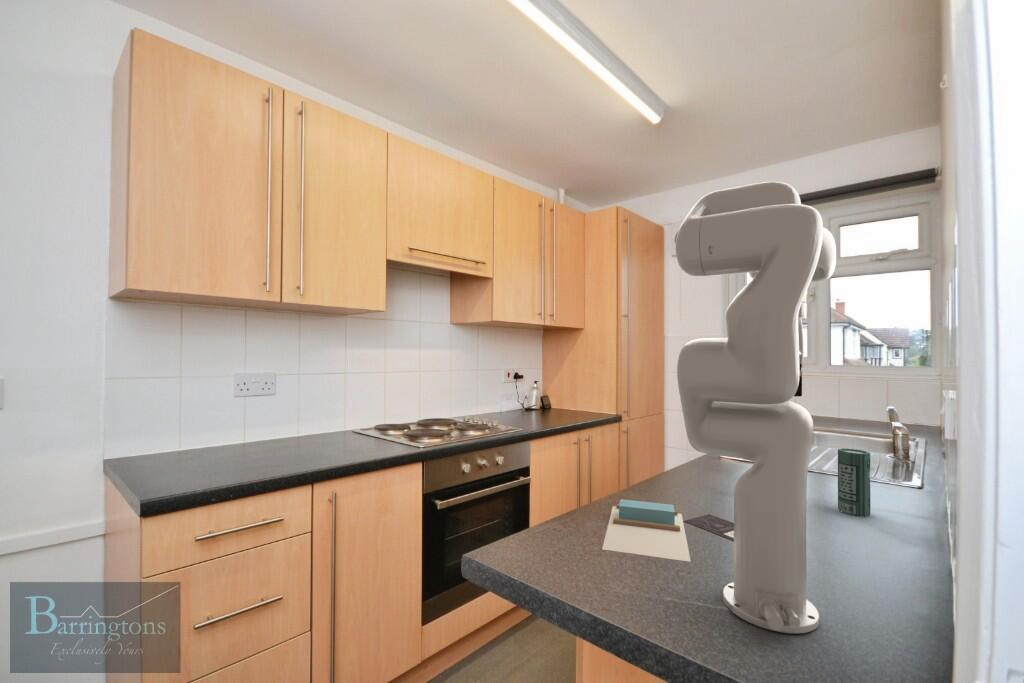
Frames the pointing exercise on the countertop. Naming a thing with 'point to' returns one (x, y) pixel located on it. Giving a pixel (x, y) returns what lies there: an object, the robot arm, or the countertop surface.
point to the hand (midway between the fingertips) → (785, 394)
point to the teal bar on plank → (647, 512)
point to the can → (854, 482)
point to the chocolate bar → (714, 525)
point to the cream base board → (647, 537)
